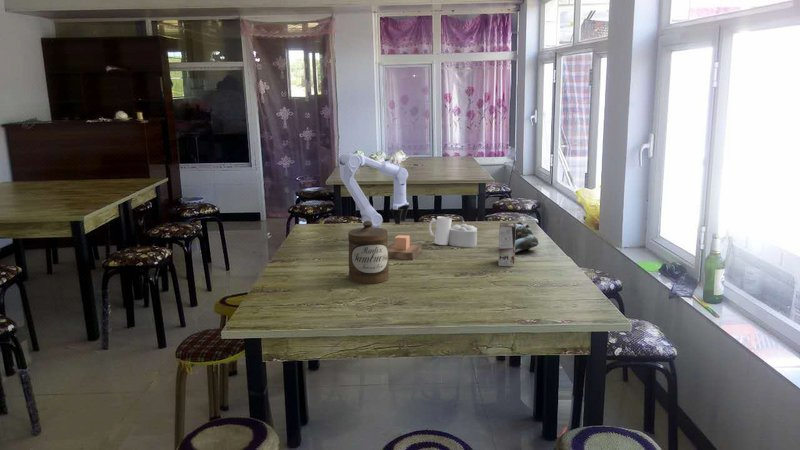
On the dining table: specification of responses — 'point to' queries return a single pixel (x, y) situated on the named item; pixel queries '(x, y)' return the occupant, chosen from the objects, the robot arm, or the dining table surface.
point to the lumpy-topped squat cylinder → (463, 236)
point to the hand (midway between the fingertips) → (400, 222)
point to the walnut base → (404, 252)
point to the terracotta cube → (402, 242)
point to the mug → (441, 230)
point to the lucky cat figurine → (524, 238)
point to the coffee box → (507, 244)
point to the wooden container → (368, 254)
